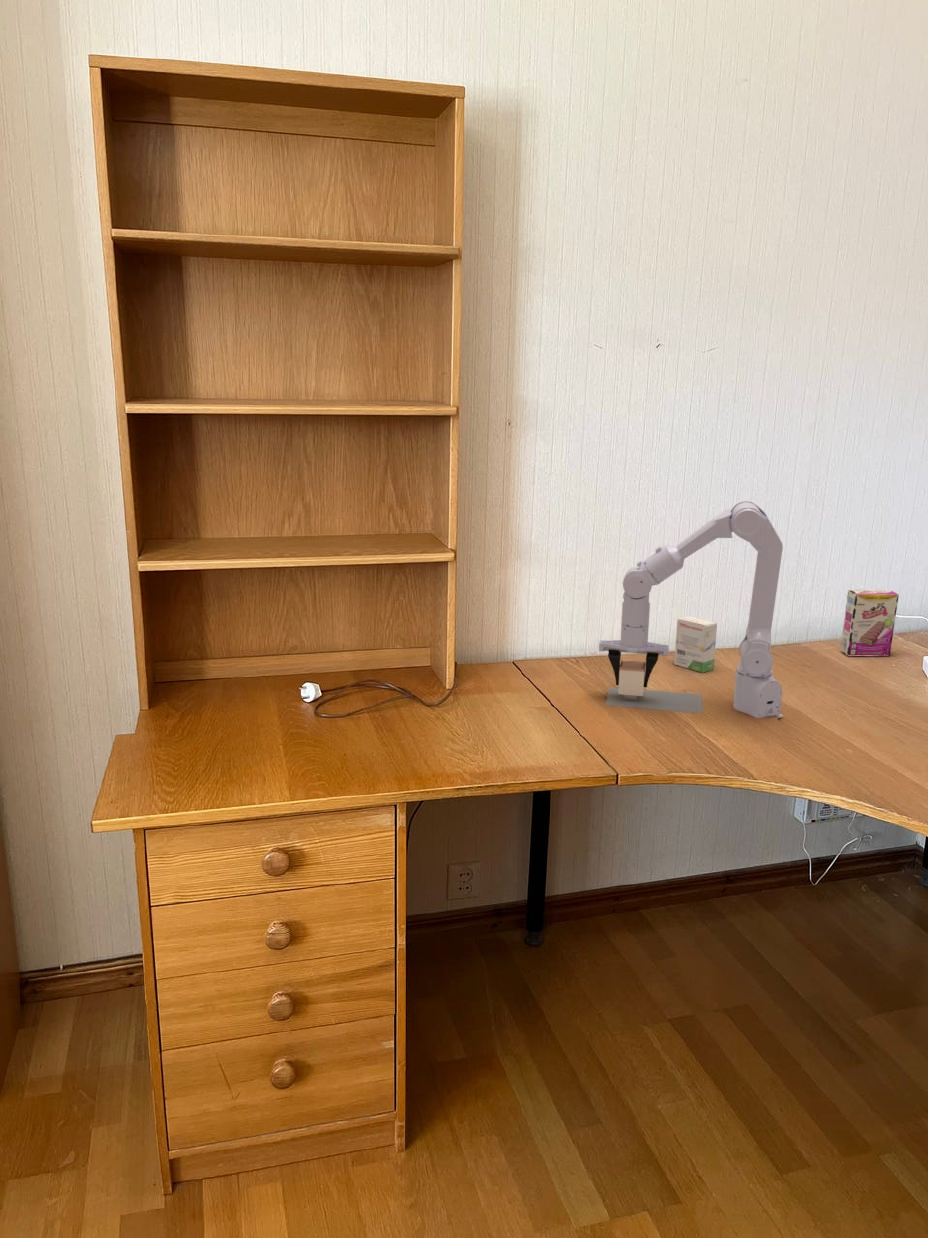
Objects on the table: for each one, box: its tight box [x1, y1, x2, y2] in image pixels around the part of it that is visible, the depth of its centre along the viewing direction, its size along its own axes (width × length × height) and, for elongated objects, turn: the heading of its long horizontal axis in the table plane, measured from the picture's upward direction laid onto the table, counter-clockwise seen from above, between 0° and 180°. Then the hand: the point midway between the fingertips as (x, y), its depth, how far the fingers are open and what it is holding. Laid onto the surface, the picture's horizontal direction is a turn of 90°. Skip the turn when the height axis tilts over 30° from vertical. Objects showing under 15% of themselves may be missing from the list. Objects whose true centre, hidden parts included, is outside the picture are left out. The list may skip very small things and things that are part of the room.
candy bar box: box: [840, 589, 900, 656], centre depth 243 cm, size 11×5×16 cm, turn 94°
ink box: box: [674, 615, 718, 674], centre depth 232 cm, size 8×5×12 cm, turn 40°
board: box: [605, 686, 703, 714], centre depth 208 cm, size 20×12×1 cm, turn 77°
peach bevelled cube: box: [618, 659, 646, 696], centre depth 208 cm, size 5×5×6 cm
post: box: [624, 695, 637, 700], centre depth 208 cm, size 3×3×6 cm
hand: (631, 685), depth 208 cm, fingers closed on peach bevelled cube, 5 cm apart
